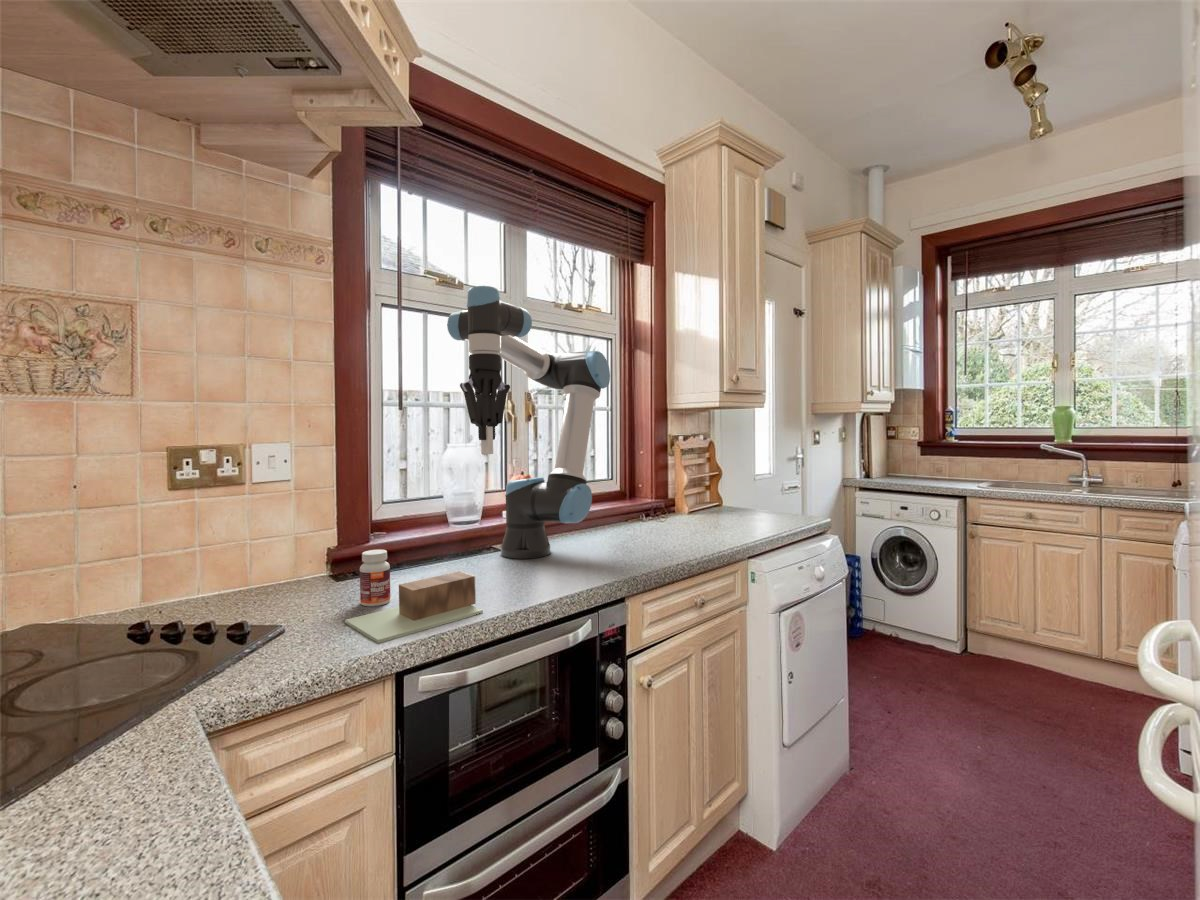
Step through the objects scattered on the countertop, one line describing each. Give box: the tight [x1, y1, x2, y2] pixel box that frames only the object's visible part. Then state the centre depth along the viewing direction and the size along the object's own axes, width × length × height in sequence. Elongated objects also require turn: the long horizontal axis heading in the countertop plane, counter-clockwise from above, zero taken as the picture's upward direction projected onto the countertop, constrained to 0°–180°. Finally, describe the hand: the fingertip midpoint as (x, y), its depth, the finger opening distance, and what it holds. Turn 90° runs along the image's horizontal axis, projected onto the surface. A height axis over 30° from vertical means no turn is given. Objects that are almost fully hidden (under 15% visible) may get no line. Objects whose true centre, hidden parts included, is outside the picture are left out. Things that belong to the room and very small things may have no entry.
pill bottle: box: [359, 549, 391, 608], centre depth 119 cm, size 6×6×11 cm
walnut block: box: [398, 571, 477, 621], centre depth 113 cm, size 6×6×14 cm
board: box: [344, 605, 484, 644], centre depth 110 cm, size 22×15×1 cm
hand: (487, 453), depth 129 cm, fingers closed
